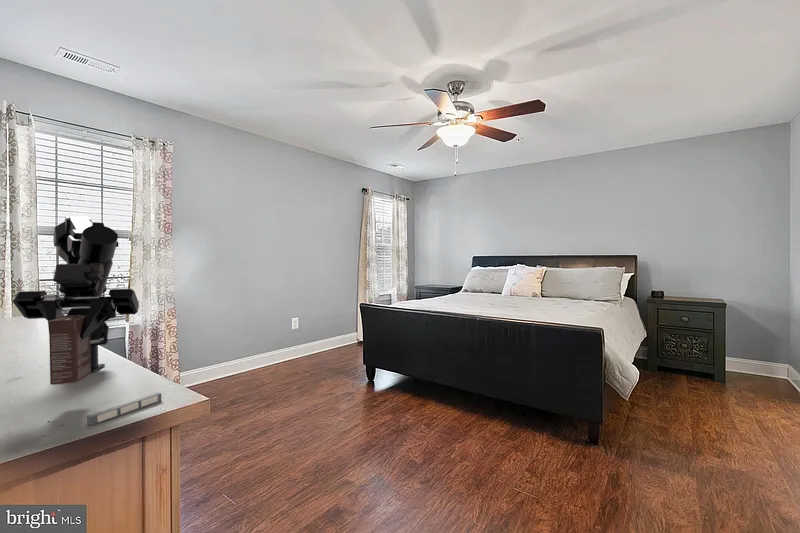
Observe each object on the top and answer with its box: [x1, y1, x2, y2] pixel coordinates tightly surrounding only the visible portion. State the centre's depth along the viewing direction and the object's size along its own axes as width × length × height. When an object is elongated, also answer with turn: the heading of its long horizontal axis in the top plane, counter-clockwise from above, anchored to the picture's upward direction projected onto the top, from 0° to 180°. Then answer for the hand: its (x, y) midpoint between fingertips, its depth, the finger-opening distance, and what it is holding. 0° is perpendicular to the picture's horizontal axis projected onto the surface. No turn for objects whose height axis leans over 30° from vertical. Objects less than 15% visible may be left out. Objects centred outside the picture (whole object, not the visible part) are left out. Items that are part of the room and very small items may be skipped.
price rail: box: [86, 391, 162, 427], centre depth 68 cm, size 1×12×2 cm, turn 156°
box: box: [48, 315, 92, 386], centre depth 71 cm, size 6×4×12 cm
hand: (67, 338), depth 70 cm, fingers closed on box, 4 cm apart
